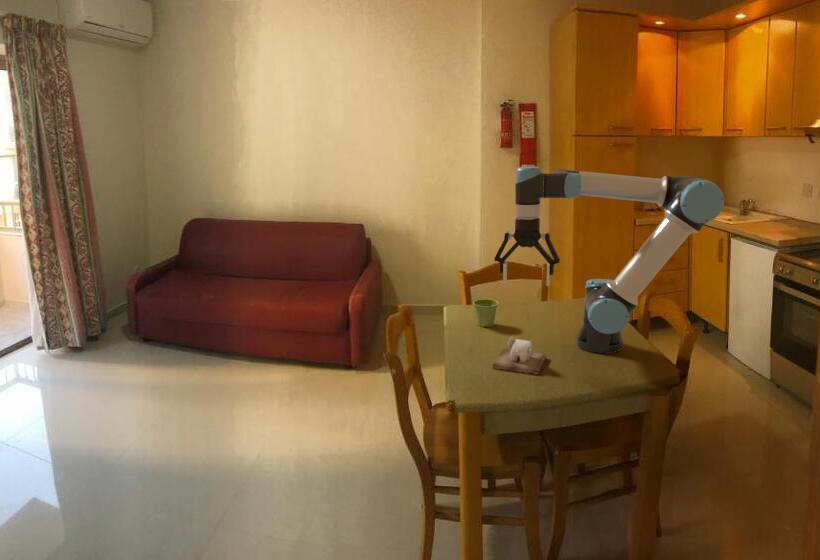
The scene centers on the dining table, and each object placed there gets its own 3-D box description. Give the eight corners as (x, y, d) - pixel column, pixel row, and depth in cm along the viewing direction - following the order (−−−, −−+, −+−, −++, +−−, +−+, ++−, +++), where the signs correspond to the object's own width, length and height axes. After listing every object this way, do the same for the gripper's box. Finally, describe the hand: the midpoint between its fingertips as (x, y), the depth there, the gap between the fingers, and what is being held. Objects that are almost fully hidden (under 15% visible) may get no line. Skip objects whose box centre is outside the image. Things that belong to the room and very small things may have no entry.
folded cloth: (546, 358, 203) (546, 353, 203) (538, 374, 191) (538, 369, 190) (503, 352, 208) (503, 348, 208) (492, 368, 196) (493, 363, 195)
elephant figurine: (537, 356, 201) (538, 334, 199) (527, 366, 193) (528, 344, 191) (515, 351, 205) (516, 330, 203) (503, 361, 197) (504, 339, 195)
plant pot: (485, 330, 230) (486, 307, 228) (467, 324, 237) (467, 302, 235) (503, 325, 236) (503, 302, 234) (484, 319, 243) (485, 297, 241)
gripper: (569, 216, 195) (567, 282, 200) (489, 214, 202) (489, 278, 208) (568, 220, 188) (565, 288, 193) (485, 218, 195) (485, 284, 201)
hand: (526, 283), depth 201 cm, fingers open, 13 cm apart
